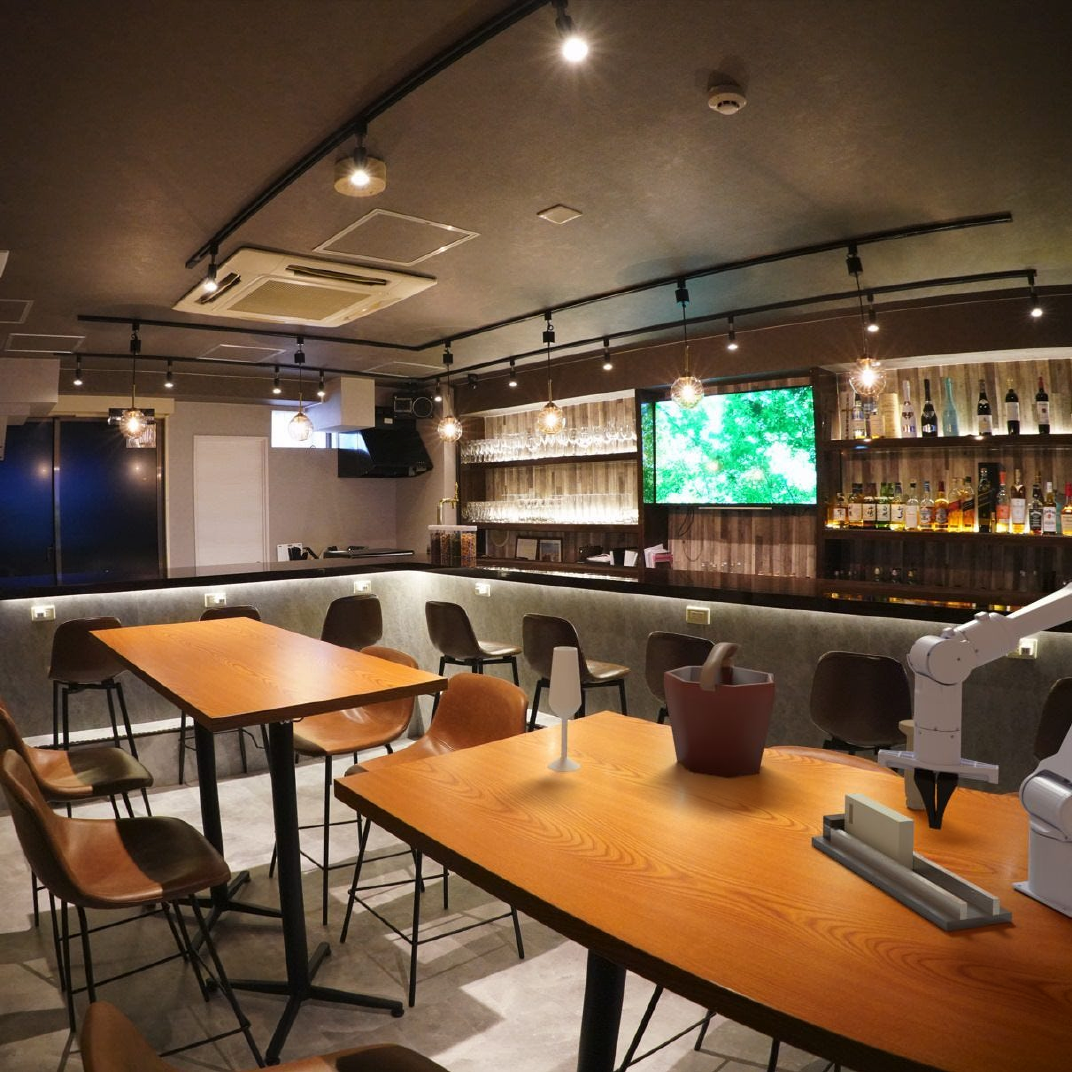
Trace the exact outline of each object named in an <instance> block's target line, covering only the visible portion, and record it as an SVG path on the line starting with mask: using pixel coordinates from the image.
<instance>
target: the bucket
mask: <svg viewBox="0 0 1072 1072" xmlns="http://www.w3.org/2000/svg"><path fill="white" fill-rule="evenodd" d="M741 647H742V645H741V644H740V643H735V642H733V643H732V642H719V643H716V644H715V645H714V646H713V647H712V649H711V651H709V655H708V656H707V658H706V661H705V662H704V663H703V664H702V665H686V666H682V667H678V668H675V669H671V670H667V671H664V672H663V689H664V694H665V695H664V696H665V701H666V707H667V712H668V718H669V722H670V723H669V724H670V728H671V734H672V741H673V746H674V751H675V756H676V757H675V758H676V761H677V763H678V764H679V765H681V766H682V767H683V766H684V767H683V768H685V769H686V770H688V772H690V773H691V772H693V774H697V773H698V775H705V776H712V777H717V778H718V777H719V778H724V779H725V778H726V779H731V778H740V777H747V776H752V775H753V776H754V775H760V771H761V768H762V767H761V765H762V761H763V756H764V752H765V747H766V742H767V736H768V732H769V728H770V725H771V724H770V722H771V718H772V714H773V709H774V705H775V700H776V680H775V677H774V673H771V672H770V673H769V672H767V671H766V672H764V671H761V670H753V669H750V668H749V669H748V668H743V667H739V666H735V665H734V662H733V661H734V660H733V656H735V655H736V653H737V652H739V650H740V648H741Z"/></svg>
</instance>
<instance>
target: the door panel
mask: <svg viewBox="0 0 1072 1072" xmlns="http://www.w3.org/2000/svg"><path fill="white" fill-rule="evenodd" d="M844 813H845V827H844V832H846V833H847V834H849V835H851V836H853V837H854V838H856V839H858V840H859V841H861V842H863V843H865V844H866V845H868V846H870V847H871V848H873V849H875V850H877V851H878V852H880V853H882V854H883V855H885V856H887V857H889V858H890V859H892V860H894V861H896V862H897V863H899V864H901V865H902V866H904V867H906V868H908V869H909V870H912V869H913V851H914V840H915V839H914V838H915V837H914V835H915V834H914V833H915V820H914V819H912V818H910V817H909V816H906V815H904V814H902V813H900V812H899V811H896V810H894V809H892V808H890V807H888V806H886V805H885V804H882V803H880V802H878V801H876V800H875V799H872V798H870V797H868V796H866V795H864V794H862V793H859V792H856V793H847V794H846V793H845V794H844Z"/></svg>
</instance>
